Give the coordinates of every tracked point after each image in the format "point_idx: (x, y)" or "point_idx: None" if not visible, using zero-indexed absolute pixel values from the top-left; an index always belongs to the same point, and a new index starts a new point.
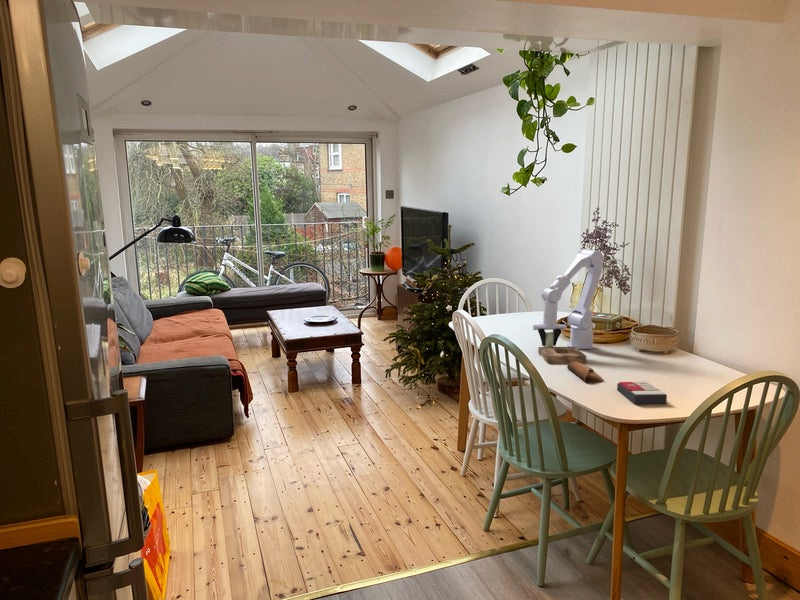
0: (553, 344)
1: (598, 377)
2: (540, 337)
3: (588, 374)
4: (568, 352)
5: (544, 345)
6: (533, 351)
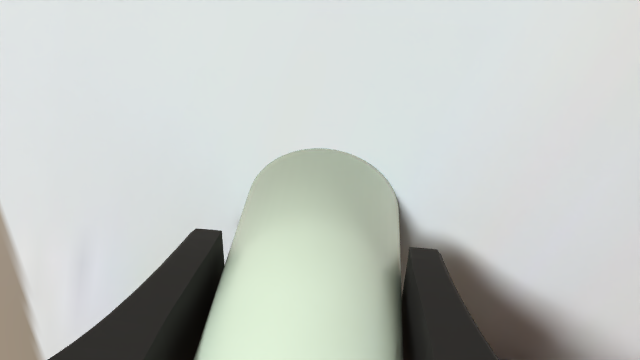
0: (404, 298)
1: None
2: (102, 326)
3: None
4: None
5: None
6: (73, 224)
